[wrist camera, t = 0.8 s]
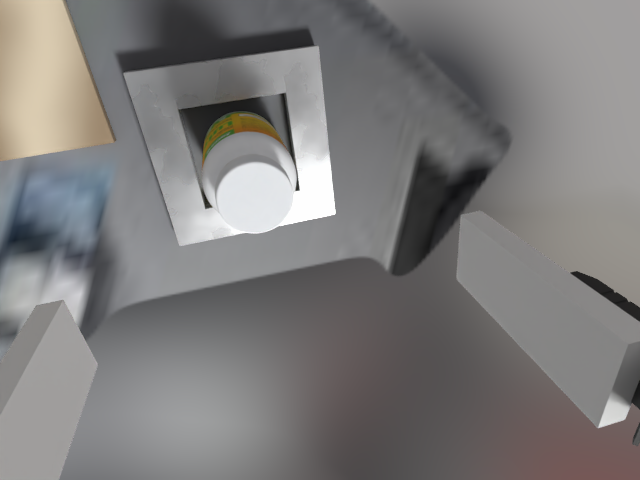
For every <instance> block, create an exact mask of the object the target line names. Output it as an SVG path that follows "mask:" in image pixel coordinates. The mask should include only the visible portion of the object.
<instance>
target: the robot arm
mask: <svg viewBox="0 0 640 480" xmlns="http://www.w3.org/2000/svg"><path fill="white" fill-rule="evenodd" d="M456 279H457V280H458V281H459V282H460V283H461V285H462V286H463V287H464V288H465V289H467V291H468V292H469V293H470V294H471V295H472V296H473V297H474V298H475V299H476V300H477V301H478V303H479V304H480V305H481V306H482V307H483V308H484V309H485V310H486V311H487V312H488V313H489V314H490V315H491V316H492V317H493V318H494V319H495V320H496V321H497V322H498V324H499V325H500V326H501V327H502V328H503V329H504V330H505V331H506V332H507V333H508V334H509V335H510V336H511V337H512V338H513V339H514V340H515V341H516V343H517V344H518V345H519V346H520V347H521V348H522V349H523V350H524V351H525V352H526V353H527V354H528V355H529V356H530V357H531V358H532V359H533V360H534V361H535V362H536V363H537V364H538V366H539V367H540V368H541V369H542V370H543V371H544V372H545V373H546V374H547V375H548V376H549V377H550V378H551V379H552V380H553V381H554V382H555V383H556V384H557V386H558V387H559V388H560V389H561V390H562V391H563V392H564V393H565V394H566V395H567V396H568V397H569V398H570V399H571V400H572V401H573V403H575V405H576V406H577V407H578V408H579V409H580V410H581V411H582V412H583V413H584V414H585V415H586V416H587V417H588V418H589V419H590V420H591V421H592V422H593V424H594V425H595V426H596V427H597V428H600V427H603V426H606V425H609V424H612V423H616V422H619V421H622V420H625V418H626V416H627V413H628V411H629V408H630V406H631V404H632V403H633V404H634V405H635V406H637V407H638V408H639V409H640V308H639V307H638V306H637V305H635V304H634V303H632V302H628V301H627V299H626V298H625V297H623V296H622V295H620V294H619V293H617V292H616V293H614V290H613V289H611V288H609V287H608V286H607V285H605V284H604V283H602V282H601V281H599V280H598V279H595V278H593V277H590V276H588V275H585V274H583V273H580V272H578V271H576V272H571V273H569V272H568V271H566V270H565V269H563V268H562V267H561V266H559V265H558V264H556V263H555V262H553V261H552V260H550V259H549V258H548V257H546V256H545V255H543V254H542V253H541V252H539V251H538V250H536V249H535V248H533V247H532V246H531V245H529V244H528V243H526V242H525V241H523V240H522V239H521V238H519V237H517V236H516V235H515V234H513V233H512V232H511V231H509V230H507V229H506V228H505V227H503V226H502V225H501V224H499V223H498V222H496V221H495V220H493V219H492V218H491V217H489V216H488V215H486V214H485V213H483V212H482V211H477V212H473V213H468V214H463V215H461V220H460V234H459V249H458V262H457V277H456ZM97 366H98V364H97V362H96V360H95V358H94V356H93V355H92V353H91V351H90V349H89V347H88V345H87V343H86V341H85V339H84V338H83V336H82V334H81V332H80V330H79V328H78V326H77V324H76V323H75V321H74V319H73V317H72V315H71V313H70V311H69V309H68V308H67V306H66V304H65V302H64V300H60V301H55V302H51V303H46V304H41V305H37V306H36V307H35V308H34V310H33V312H32V313H31V315H30V316H29V318H28V319H27V321H26V323H25V324H24V326H23V327H22V329H21V331H20V332H19V334H18V335H17V337H16V338H15V340H14V342H13V343H12V345H11V346H10V348H9V350H8V351H7V353H6V354H5V356H4V358H3V359H2V361H1V362H0V480H59V478H60V474H61V472H62V469H63V466H64V463H65V460H66V457H67V454H68V451H69V448H70V445H71V442H72V439H73V436H74V433H75V430H76V427H77V425H78V421H79V419H80V416H81V413H82V410H83V407H84V404H85V401H86V398H87V395H88V392H89V389H90V386H91V383H92V380H93V378H94V375H95V372H96V369H97ZM639 443H640V423H639V426H638V428H637V430H636V433H635V435H634V437H633V445H636V446H638V445H639Z"/></svg>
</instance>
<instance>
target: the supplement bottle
mask: <svg viewBox="0 0 640 480" xmlns="http://www.w3.org/2000/svg"><path fill="white" fill-rule="evenodd" d="M296 182H297V175H296V168H295V165H294V162H293V160H292V157H291V156H290V154H289V152H288V150H287V149H286V147H285V145H284V144H283V142H282V140H281V139H280V137H279V135H278V133H277V132H276V130H275V129H274V127H273V126H272V125H271V124H270V123H269V122H268V121H267V120H266V119H264V118H263V117H261V116H259V115H257V114H255V113H251V112H246V111H236V112H231V113H228V114H226V115H224V116H222V117H220V118H219V119H217V120H216V121H215V122H214V123H213V124H212V126H211V127H210V128H209V130H208V132H207V134H206V137H205V141H204V147H203V161H202V185H203V190H204V193H205V195H206V197H207V199H208V201H209V203H210V204H211V205H212V207H213V208H214V209H215V210H216V211H217V212H218V213H220V215H221V217H222V218H223V219H224V220H225V222H226V223H228V224H229V225H230V226H232V227H233V228H235V229H237V230H239V231H242V232H246V233H262V232H267V231H269V230H272V229H274V228H275V227H277V226H279V225H280V224H281V223H282V222H283V221H284V220H285V219H286V218H287V216H288V215H289V213H290V211H291V208H292V205H293V200H294V192H295V189H296Z"/></svg>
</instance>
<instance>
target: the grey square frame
mask: <svg viewBox="0 0 640 480" xmlns="http://www.w3.org/2000/svg"><path fill="white" fill-rule="evenodd" d="M123 74H124V77H125V80H126V84H127V87H128V90H129V93H130V96H131V99H132V102H133V105H134V108H135V111H136V114H137V117H138V120H139V123H140V126H141V129H142V132H143V136H144V139H145V142H146V145H147V148H148V151H149V154H150V157H151V160H152V163H153V166H154V169H155V172H156V175H157V178H158V181H159V184H160V187H161V191H162V194H163V197H164V200H165V203H166V206H167V209H168V212H169V215H170V218H171V221H172V224H173V227H174V230H175V233H176V236H177V239H178V243H179V246H183V245H187V244H192V243H197V242H202V241H207V240H212V239H217V238H222V237H226V236H231V235H236V234H241V233H246V232H242V231H239V230H237V229H235V228H233V227H232V226H230V225H229V224H228V223H226V222H225V220H224V219H223V218H222V217H221V215H220V213H218V212H217V211H216V210H215V209H214V208H213V207H212V205H211V204H210V203H209V202H207V203H205V199H204V195H203V192H202V188H201V184H200V181H199V177H198V173H197V170H196V166H195V162H194V159H193V155H192V151H191V148H190V144H189V140H188V137H187V133H186V129H185V126H184V122H183V118H182V115H181V111H180V109H184V108H191V107H197V106H204V105H210V104H217V103H223V102H229V101H236V100H242V99H249V98H255V97H262V96H268V95H275V94H281V93H284V99H285V105H286V112H287V119H288V126H289V133H290V140H291V146H292V153H293V160H294V165H295V168H296V175H297V185H296V189H295V192H294V200H293V205H292V208H291V211H290V213H289V215H288V216H287V218H286V219H285V220H284V221H283V222H282V223H281V224H280V225H285V224H290V223H294V222H299V221H304V220H309V219H314V218H319V217H324V216H329V215H333V214H335V206H334V196H333V186H332V176H331V166H330V156H329V146H328V136H327V126H326V116H325V106H324V96H323V86H322V76H321V66H320V56H319V46H316V45H311V46H304V47H297V48H290V49H282V50H275V51H268V52H261V53H254V54H246V55H239V56H232V57H225V58H218V59H210V60H203V61H196V62H189V63H181V64H174V65H167V66H160V67H153V68H145V69H138V70H131V71H126V72H124V73H123ZM280 225H279V226H280Z"/></svg>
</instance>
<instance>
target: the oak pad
mask: <svg viewBox="0 0 640 480" xmlns="http://www.w3.org/2000/svg"><path fill="white" fill-rule="evenodd" d="M115 141H116V138H115V136H114V133H113V130H112V127H111V125H110V122H109V119H108V116H107V114H106V111H105V108H104V105H103V103H102V100H101V97H100V94H99V92H98V89H97V86H96V83H95V81H94V78H93V75H92V72H91V70H90V67H89V64H88V61H87V59H86V56H85V53H84V50H83V47H82V45H81V42H80V39H79V36H78V34H77V31H76V28H75V25H74V23H73V20H72V17H71V14H70V12H69V9H68V6H67V3H66V1H65V0H0V161H4V160H10V159H17V158H23V157H29V156H35V155H41V154H47V153H53V152H59V151H65V150H72V149H78V148H84V147H90V146H96V145H102V144H108V143H114V142H115Z"/></svg>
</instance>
